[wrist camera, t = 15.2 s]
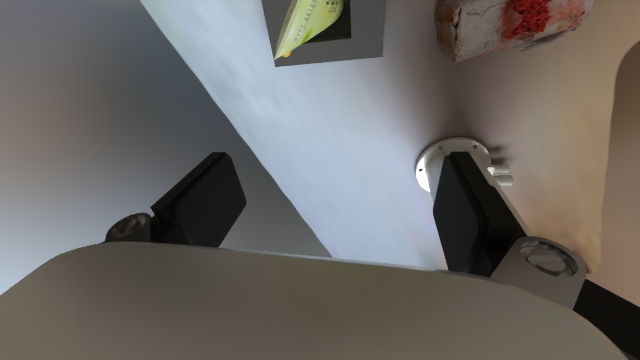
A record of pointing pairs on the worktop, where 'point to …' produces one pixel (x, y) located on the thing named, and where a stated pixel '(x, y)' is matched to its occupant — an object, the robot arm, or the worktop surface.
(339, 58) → the port block
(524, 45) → the food item
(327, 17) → the tube
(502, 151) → the worktop surface
